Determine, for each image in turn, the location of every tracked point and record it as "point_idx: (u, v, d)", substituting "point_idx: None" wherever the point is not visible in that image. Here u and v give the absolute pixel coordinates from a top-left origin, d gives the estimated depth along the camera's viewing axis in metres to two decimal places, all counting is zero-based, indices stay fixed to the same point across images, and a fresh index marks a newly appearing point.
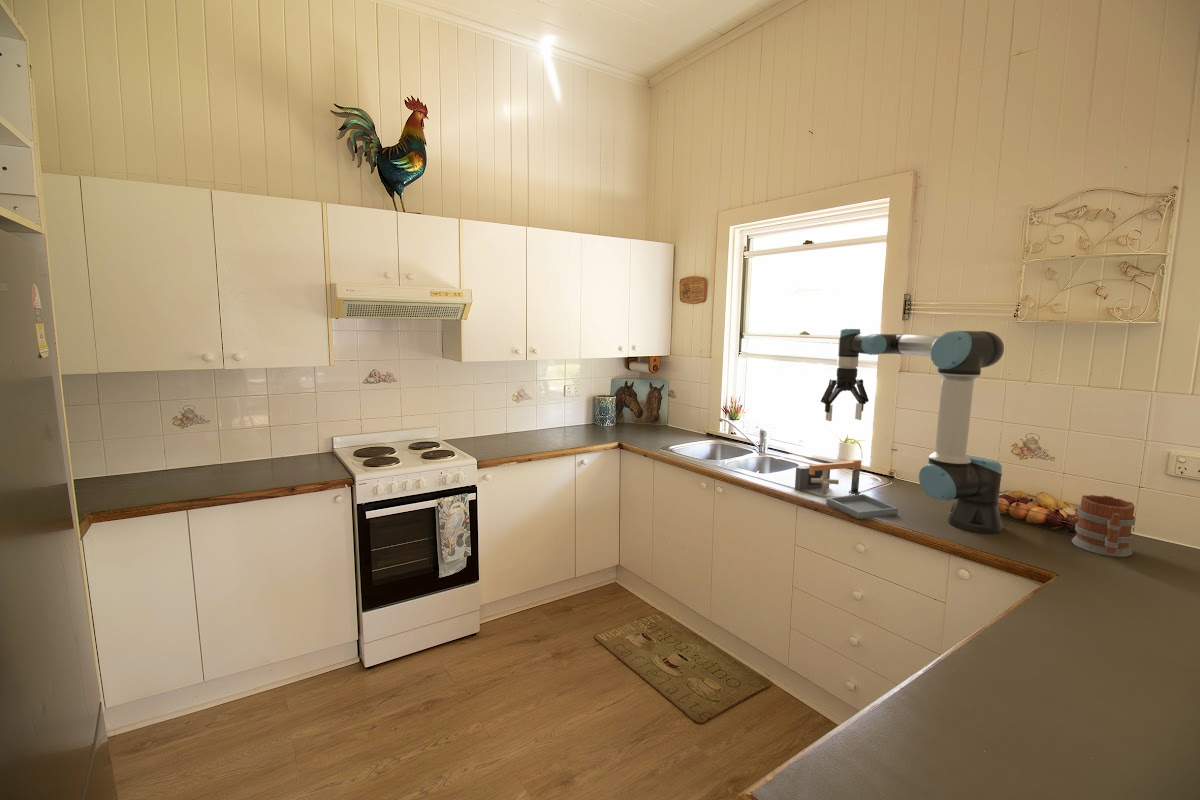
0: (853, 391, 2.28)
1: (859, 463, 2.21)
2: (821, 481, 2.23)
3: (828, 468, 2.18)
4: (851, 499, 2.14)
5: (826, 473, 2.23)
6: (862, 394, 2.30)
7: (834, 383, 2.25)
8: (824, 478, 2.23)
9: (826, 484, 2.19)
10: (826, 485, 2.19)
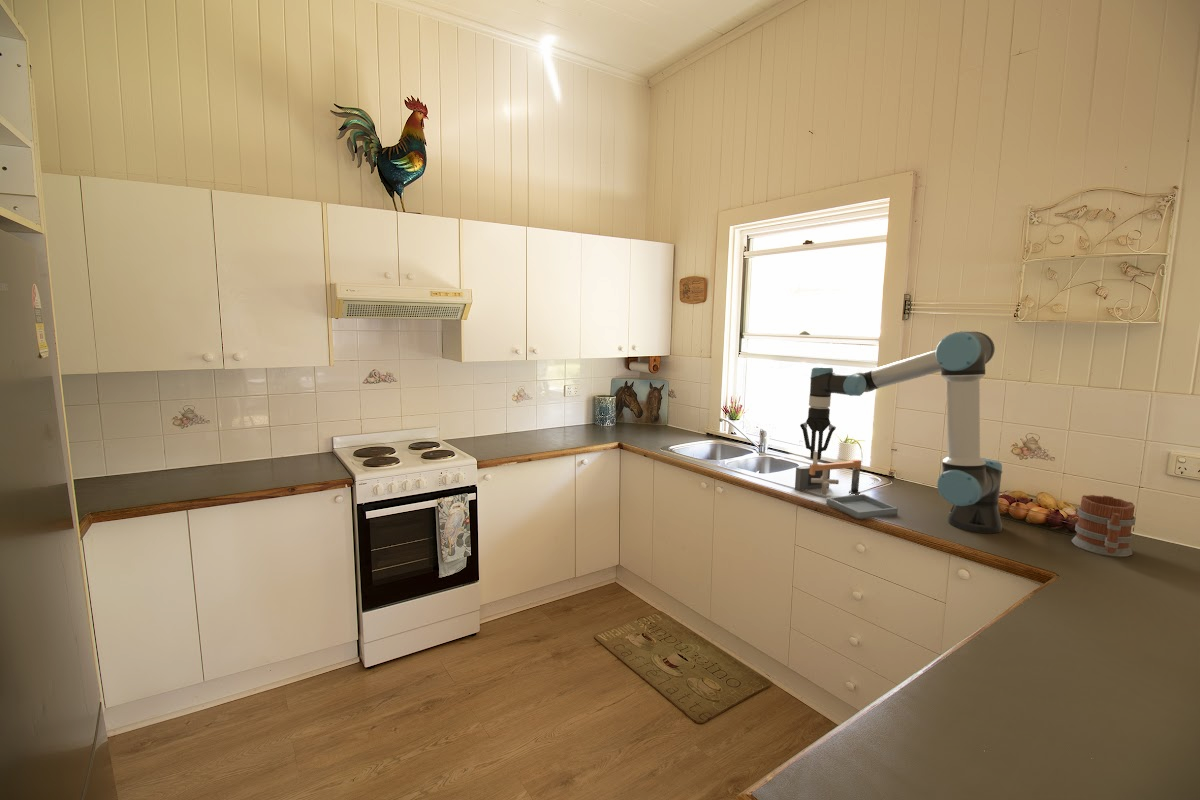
0: (819, 433, 2.17)
1: (859, 463, 2.21)
2: (821, 481, 2.23)
3: (828, 468, 2.18)
4: (851, 499, 2.14)
5: (826, 473, 2.23)
6: None
7: (803, 427, 2.19)
8: (824, 478, 2.23)
9: (826, 484, 2.19)
10: (826, 485, 2.19)
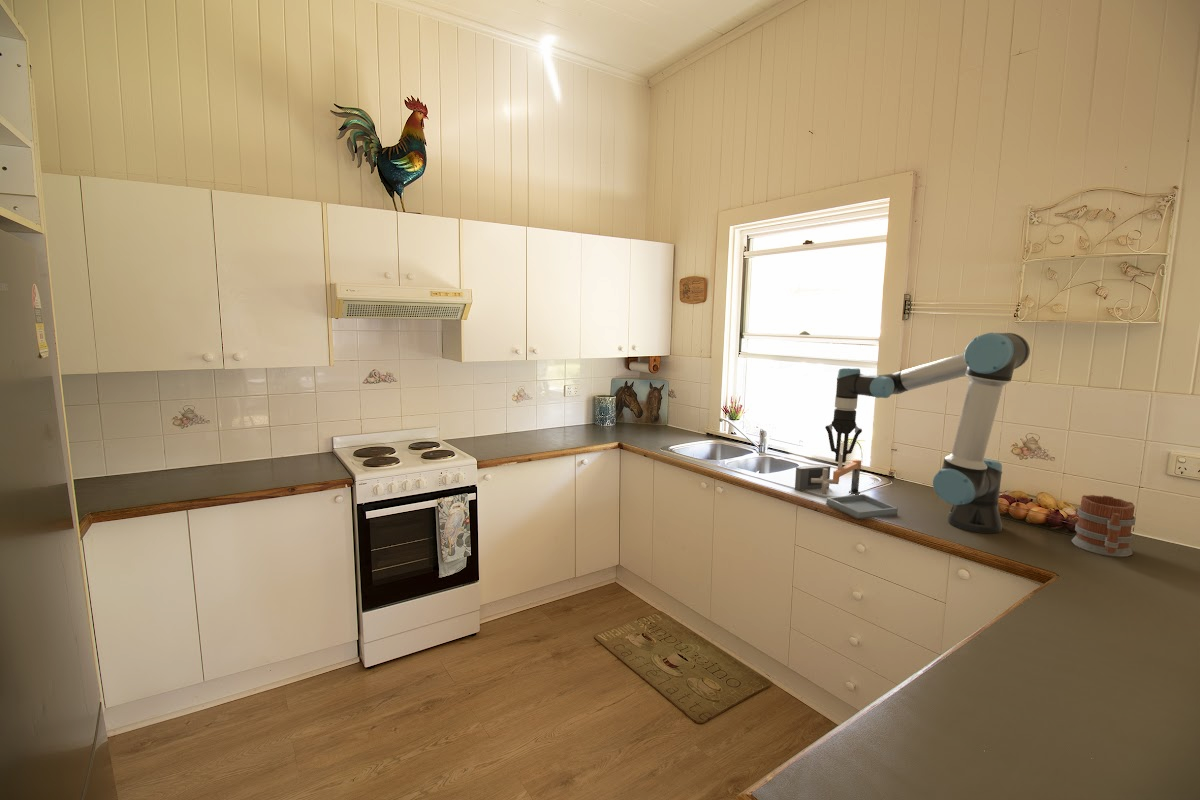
0: (844, 436, 2.13)
1: (860, 463, 2.22)
2: (821, 481, 2.23)
3: (845, 472, 2.12)
4: (851, 499, 2.14)
5: (826, 473, 2.23)
6: (851, 443, 2.12)
7: (828, 429, 2.15)
8: (824, 478, 2.23)
9: (826, 484, 2.19)
10: (826, 485, 2.19)
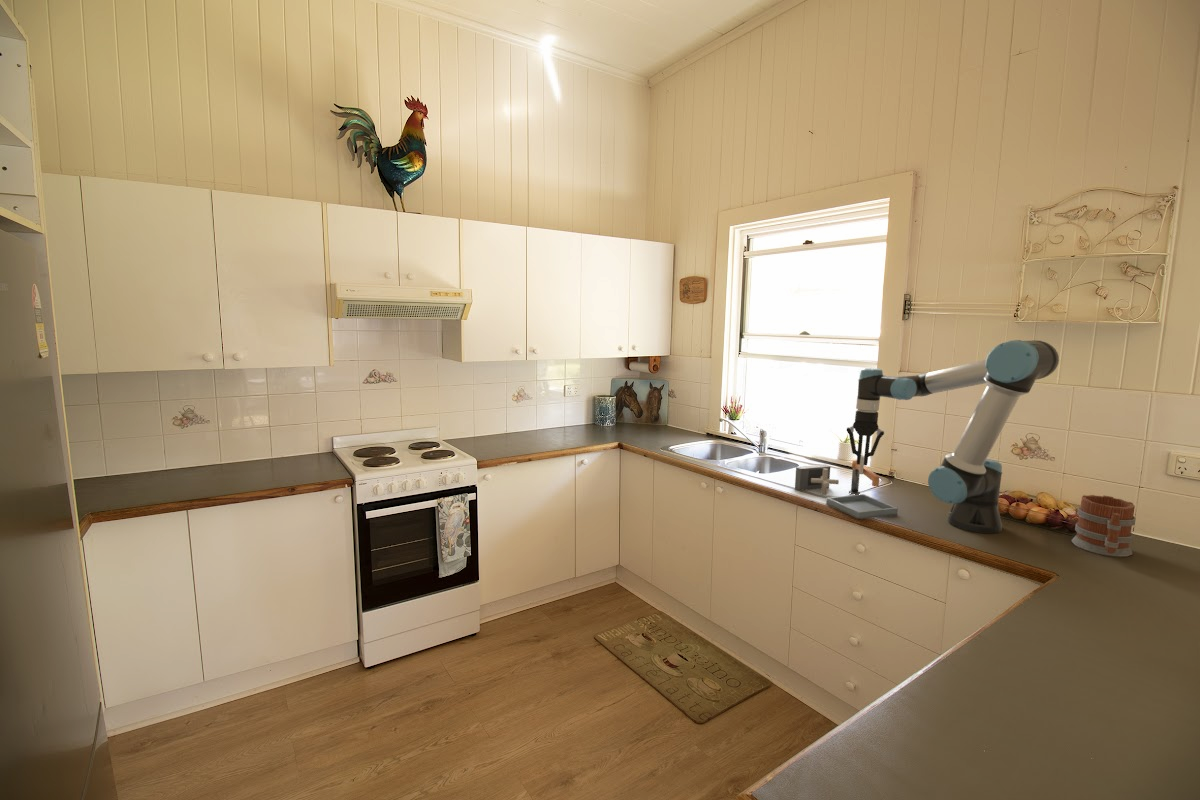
0: (866, 438, 2.10)
1: None
2: (821, 481, 2.23)
3: None
4: (851, 499, 2.14)
5: (826, 473, 2.23)
6: (873, 445, 2.09)
7: (849, 431, 2.11)
8: (824, 478, 2.23)
9: (826, 484, 2.19)
10: (826, 485, 2.19)
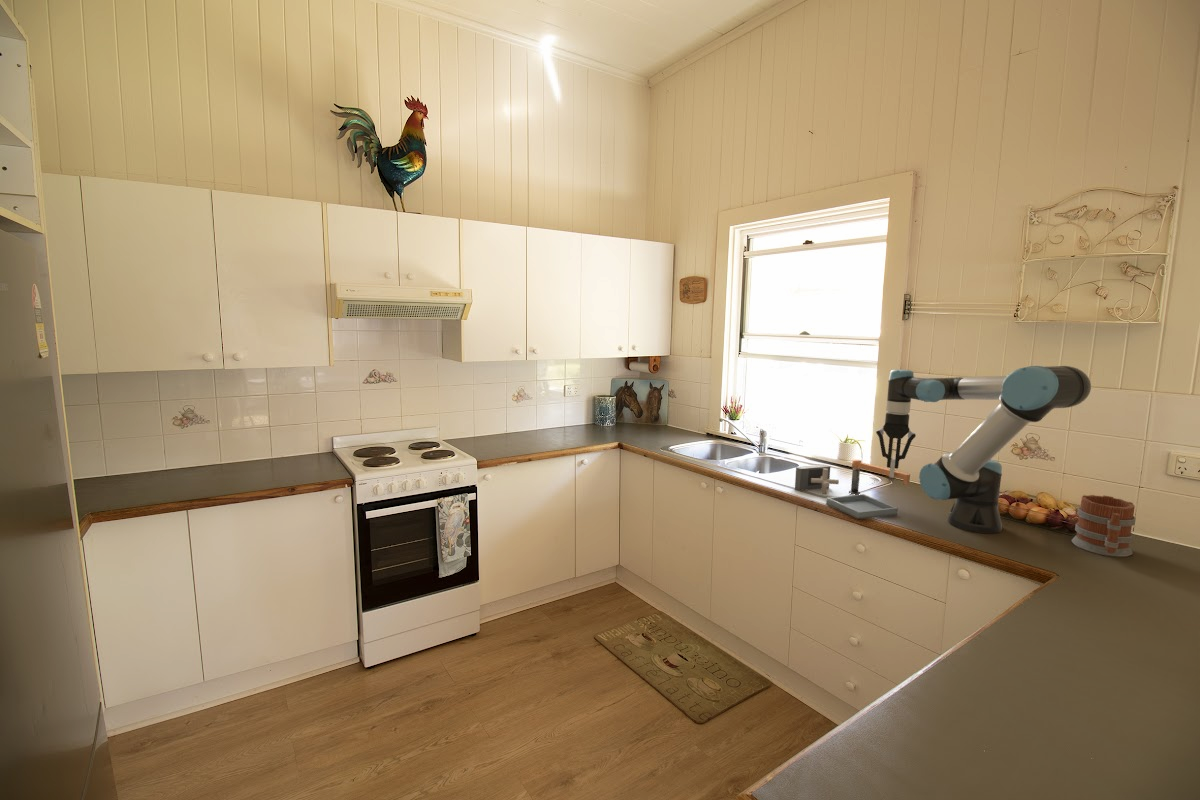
0: (897, 441, 2.05)
1: None
2: (821, 481, 2.23)
3: None
4: (851, 499, 2.14)
5: (826, 473, 2.23)
6: (904, 448, 2.04)
7: (879, 434, 2.07)
8: (824, 478, 2.23)
9: (826, 484, 2.19)
10: (826, 485, 2.19)
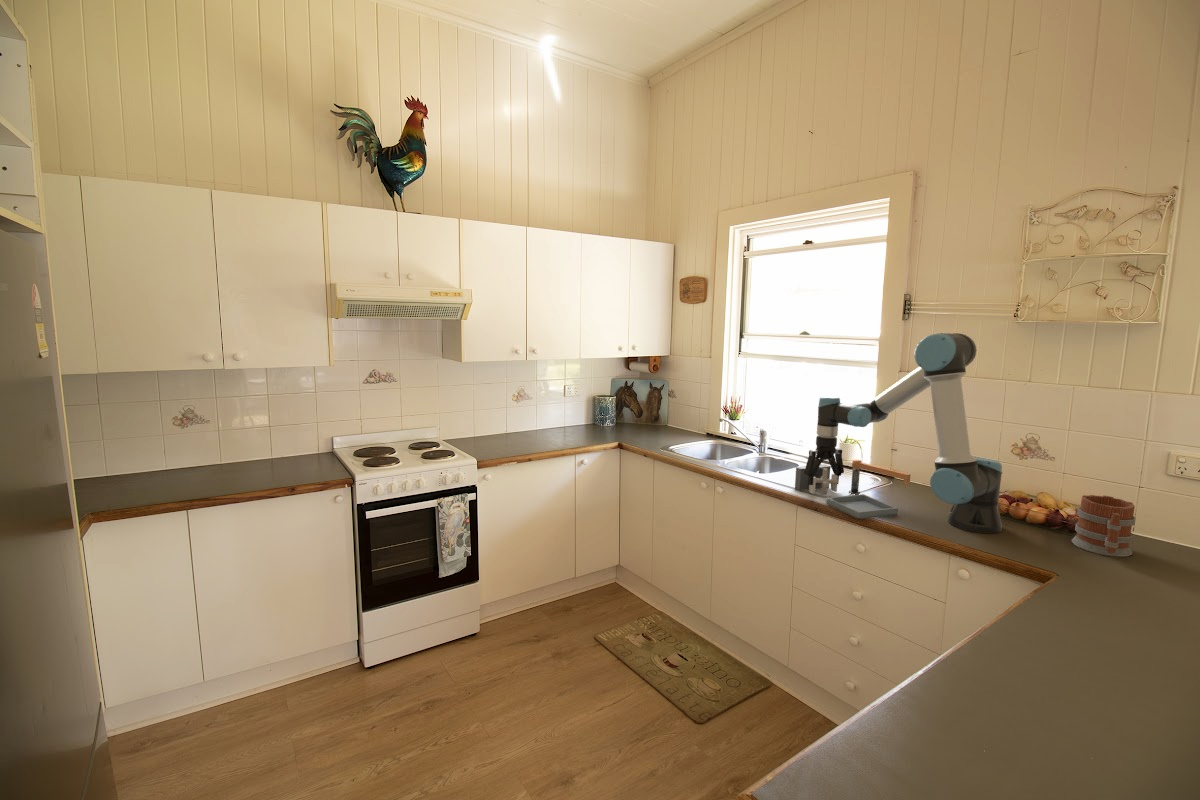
0: (831, 461, 2.23)
1: None
2: (821, 481, 2.23)
3: None
4: (851, 499, 2.14)
5: (826, 473, 2.23)
6: (839, 464, 2.25)
7: (814, 454, 2.20)
8: (824, 478, 2.23)
9: (826, 484, 2.19)
10: (826, 485, 2.19)
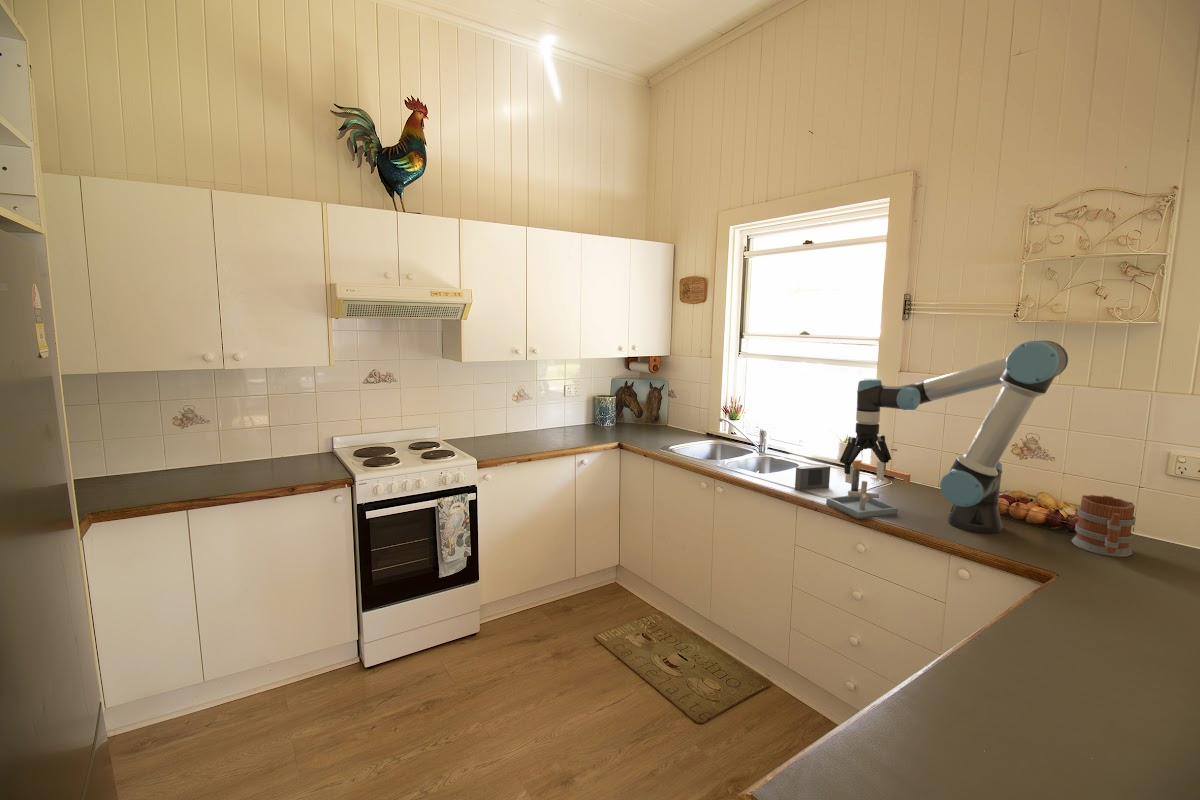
0: (874, 449, 2.03)
1: None
2: (859, 495, 2.04)
3: None
4: (851, 499, 2.14)
5: (865, 486, 2.04)
6: (884, 451, 2.05)
7: (854, 441, 2.00)
8: (863, 491, 2.04)
9: (865, 498, 2.00)
10: (865, 499, 2.00)
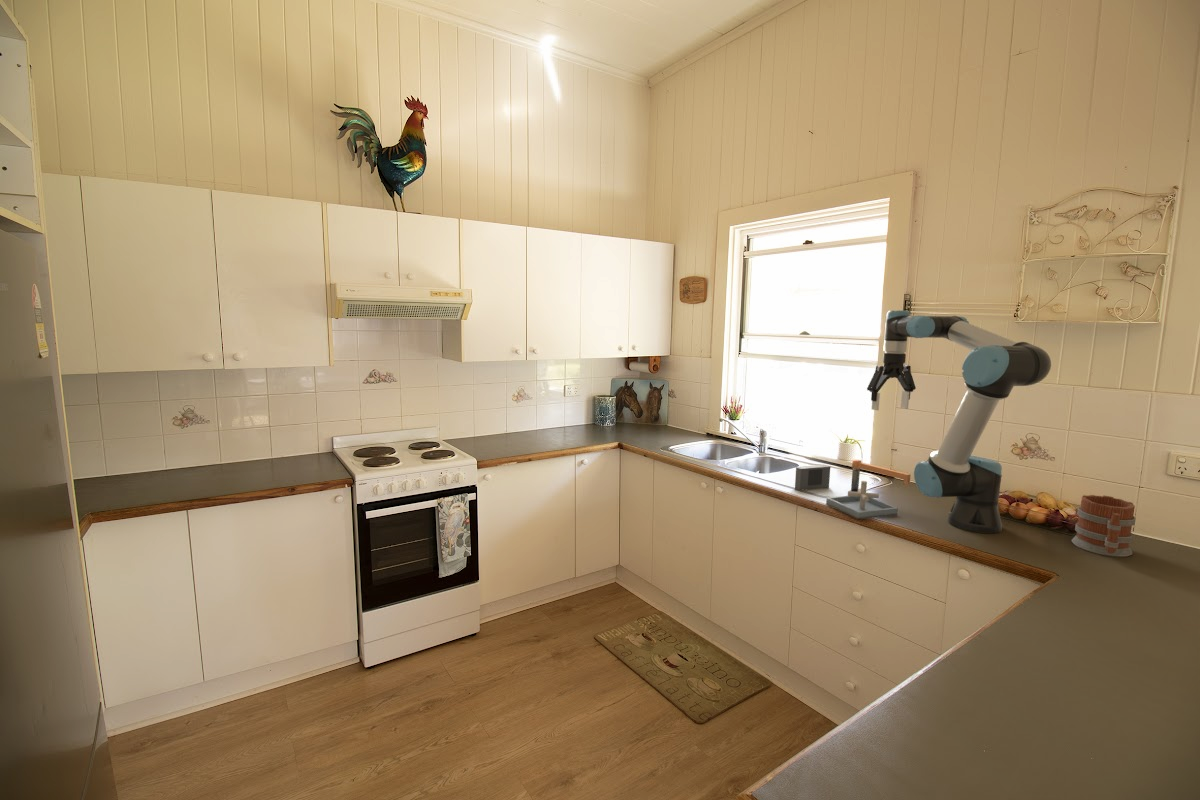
0: (900, 378, 2.13)
1: None
2: (859, 495, 2.04)
3: None
4: (851, 499, 2.14)
5: (865, 486, 2.04)
6: (909, 381, 2.15)
7: (882, 369, 2.09)
8: (862, 491, 2.04)
9: (865, 498, 2.00)
10: (865, 499, 2.00)
